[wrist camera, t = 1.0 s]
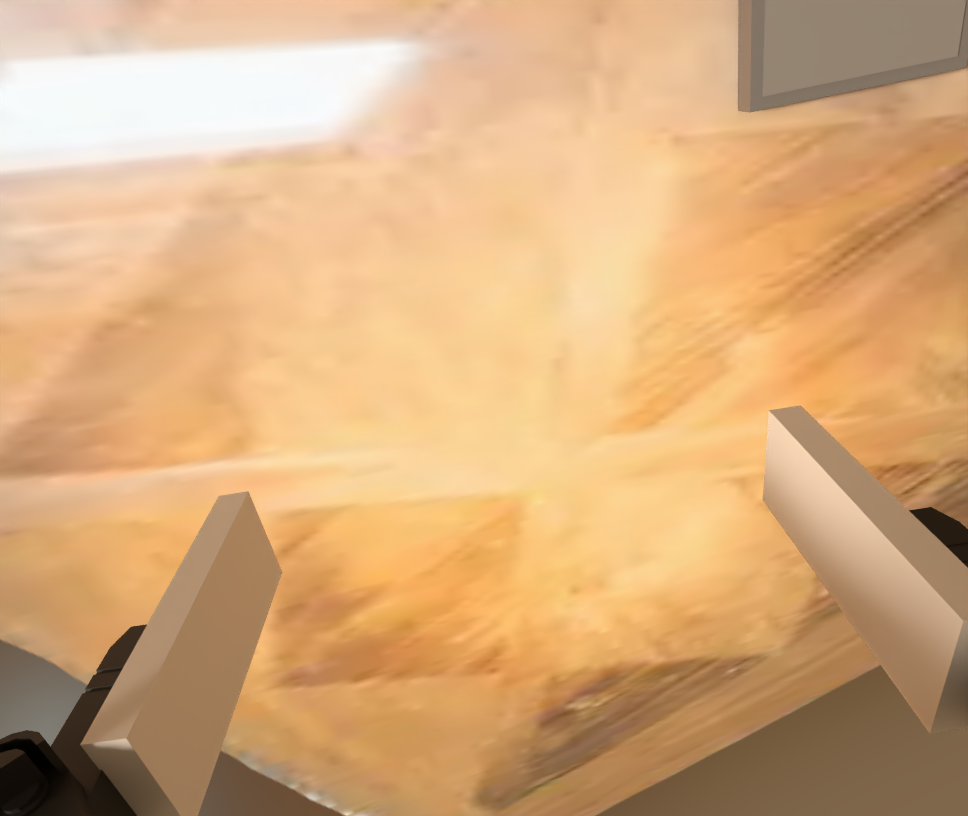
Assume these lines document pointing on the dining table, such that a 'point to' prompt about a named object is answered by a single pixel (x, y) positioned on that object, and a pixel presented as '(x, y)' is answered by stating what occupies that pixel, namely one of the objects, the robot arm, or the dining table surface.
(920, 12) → the grey square tray
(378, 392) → the dining table surface
